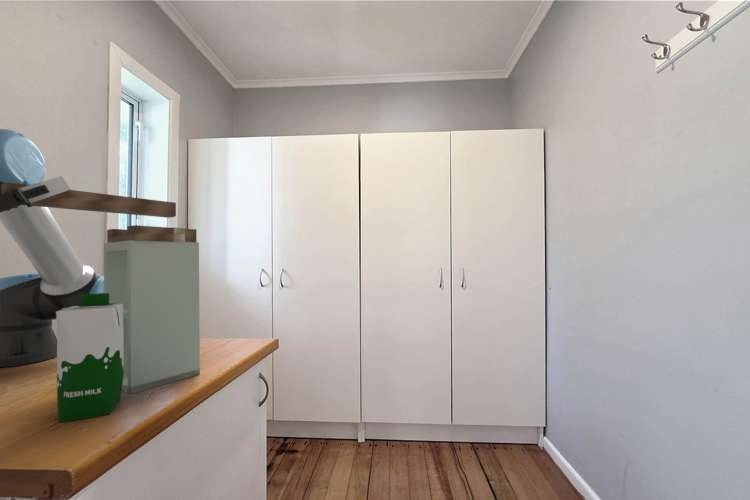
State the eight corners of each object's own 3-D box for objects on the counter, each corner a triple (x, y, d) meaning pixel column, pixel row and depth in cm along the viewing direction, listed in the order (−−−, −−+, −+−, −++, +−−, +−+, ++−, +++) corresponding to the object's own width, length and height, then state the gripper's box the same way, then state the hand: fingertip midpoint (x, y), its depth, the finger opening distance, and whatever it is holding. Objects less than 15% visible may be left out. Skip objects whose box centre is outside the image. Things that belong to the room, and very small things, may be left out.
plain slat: (6, 201, 60) (6, 182, 60) (1, 203, 62) (1, 184, 62) (175, 216, 84) (175, 202, 84) (168, 217, 85) (168, 204, 85)
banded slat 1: (112, 242, 77) (112, 228, 78) (107, 243, 79) (107, 229, 79) (174, 244, 88) (174, 231, 88) (168, 244, 90) (168, 232, 90)
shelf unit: (130, 393, 70) (130, 240, 71) (103, 382, 78) (103, 243, 78) (199, 374, 82) (198, 242, 83) (170, 365, 89) (169, 244, 90)
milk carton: (127, 397, 68) (127, 291, 69) (115, 416, 60) (115, 295, 61) (69, 405, 65) (70, 294, 65) (47, 426, 57) (48, 299, 57)
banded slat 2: (135, 240, 71) (135, 224, 71) (127, 241, 73) (127, 225, 73) (196, 242, 82) (196, 228, 83) (188, 243, 84) (188, 229, 84)
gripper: (-108, 267, 56) (59, 207, 74) (-96, 265, 47) (91, 197, 65) (-149, 223, 53) (35, 171, 71) (-145, 213, 44) (64, 157, 62)
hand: (61, 184), depth 68 cm, fingers closed on plain slat, 3 cm apart
